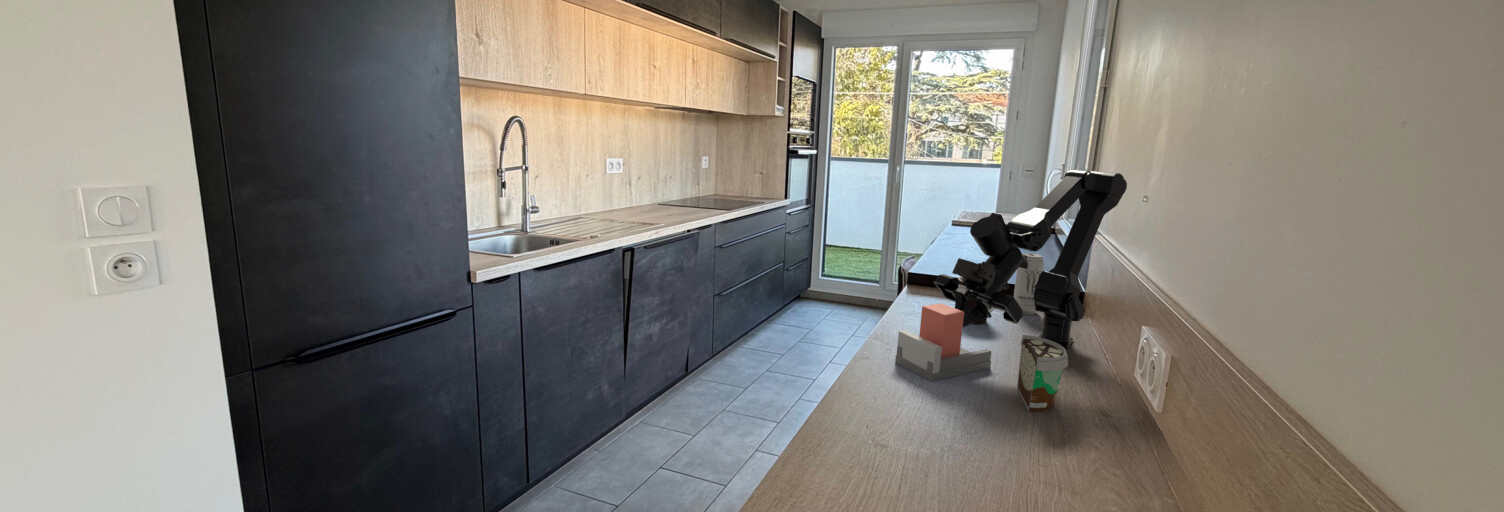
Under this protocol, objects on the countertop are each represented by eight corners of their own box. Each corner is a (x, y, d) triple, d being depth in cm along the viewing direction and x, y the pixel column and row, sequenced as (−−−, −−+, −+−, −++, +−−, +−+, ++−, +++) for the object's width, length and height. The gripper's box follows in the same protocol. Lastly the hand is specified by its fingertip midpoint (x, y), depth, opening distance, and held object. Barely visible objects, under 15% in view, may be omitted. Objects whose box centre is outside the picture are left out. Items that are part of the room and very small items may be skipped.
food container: (1070, 420, 101) (1079, 362, 99) (1030, 415, 103) (1038, 358, 100) (1051, 388, 113) (1058, 337, 111) (1015, 385, 114) (1022, 333, 112)
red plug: (936, 350, 125) (941, 303, 123) (958, 361, 120) (964, 311, 118) (917, 354, 123) (922, 306, 121) (939, 365, 118) (944, 315, 116)
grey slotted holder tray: (952, 350, 130) (955, 321, 129) (990, 368, 122) (994, 336, 120) (895, 362, 123) (897, 331, 122) (931, 381, 115) (934, 348, 113)
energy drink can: (1017, 315, 157) (1025, 257, 153) (1008, 308, 162) (1015, 252, 159) (1041, 315, 157) (1049, 258, 153) (1030, 308, 162) (1038, 252, 159)
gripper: (944, 235, 128) (899, 292, 126) (1020, 254, 112) (970, 319, 110) (968, 269, 134) (924, 324, 131) (1043, 291, 118) (995, 355, 115)
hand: (951, 329), depth 122 cm, fingers closed, pressing on red plug
